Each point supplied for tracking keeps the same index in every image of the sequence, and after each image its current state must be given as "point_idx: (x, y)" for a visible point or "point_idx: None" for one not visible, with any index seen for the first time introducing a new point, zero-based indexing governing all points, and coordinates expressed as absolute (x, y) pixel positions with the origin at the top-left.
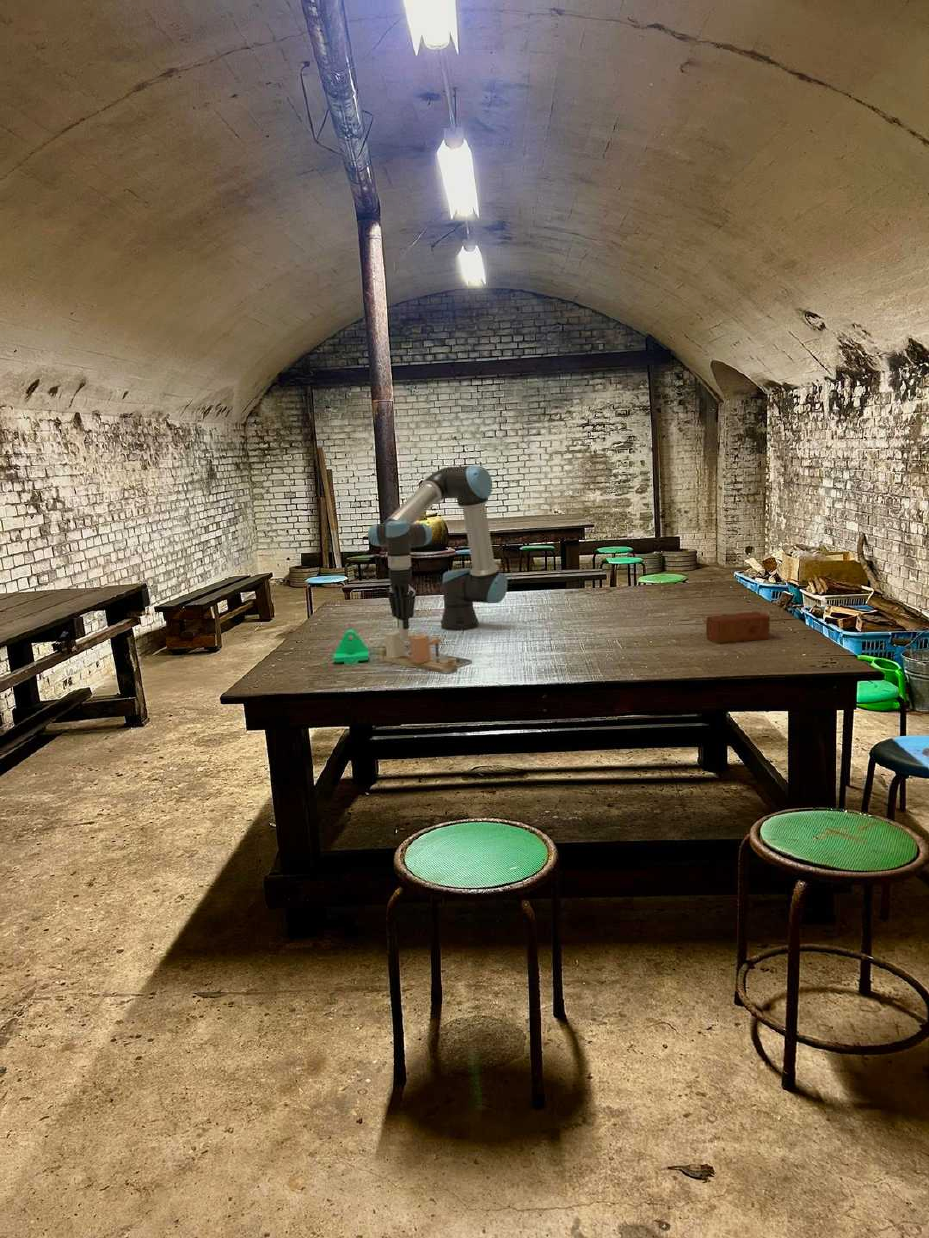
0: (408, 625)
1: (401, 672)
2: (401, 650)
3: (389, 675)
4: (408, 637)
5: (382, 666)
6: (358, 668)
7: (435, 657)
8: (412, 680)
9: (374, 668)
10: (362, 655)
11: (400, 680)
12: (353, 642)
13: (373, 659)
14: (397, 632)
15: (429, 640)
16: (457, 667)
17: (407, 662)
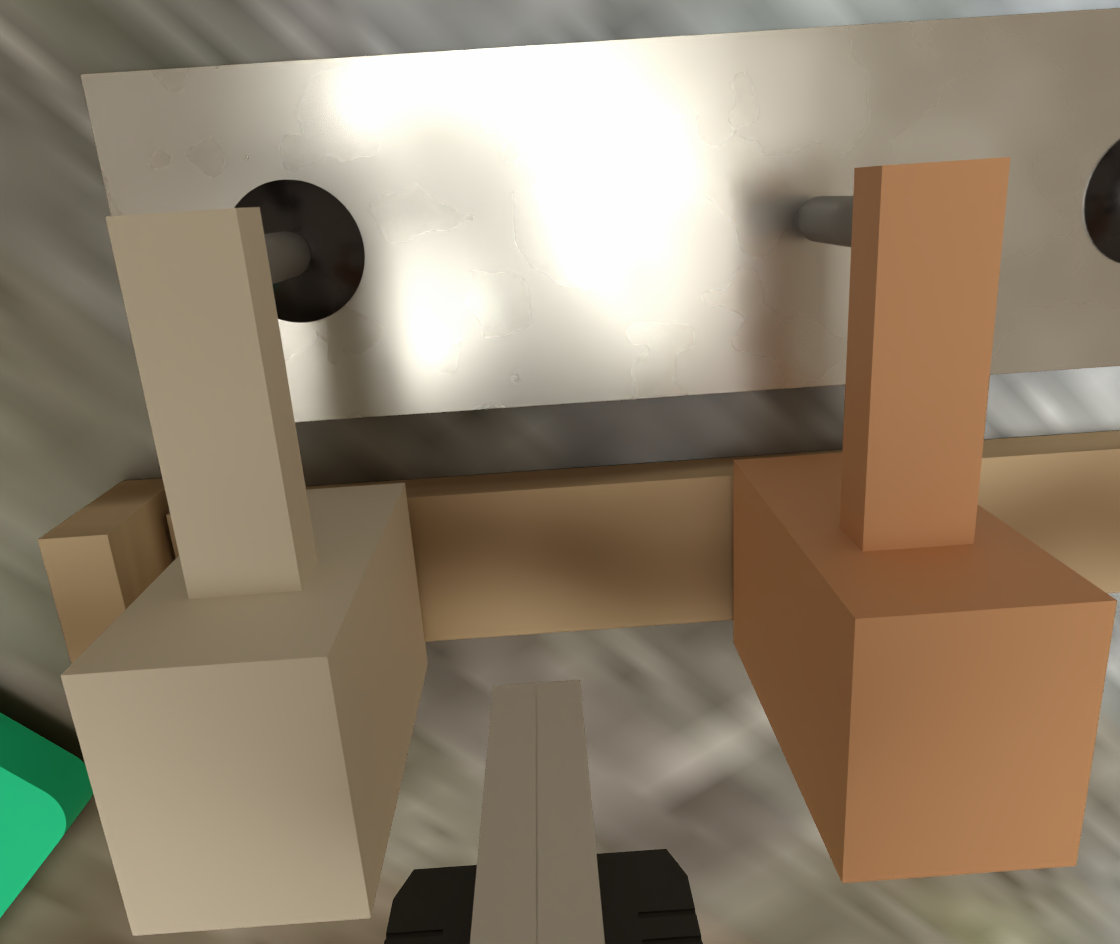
0: (695, 922)
1: (776, 788)
2: (401, 580)
3: (750, 908)
4: (578, 683)
5: (409, 768)
6: (268, 940)
7: (764, 218)
8: (1075, 883)
9: (406, 855)
10: (25, 852)
11: (969, 940)
12: None
13: (41, 655)
14: (253, 753)
15: (892, 399)
16: None
17: (642, 620)
